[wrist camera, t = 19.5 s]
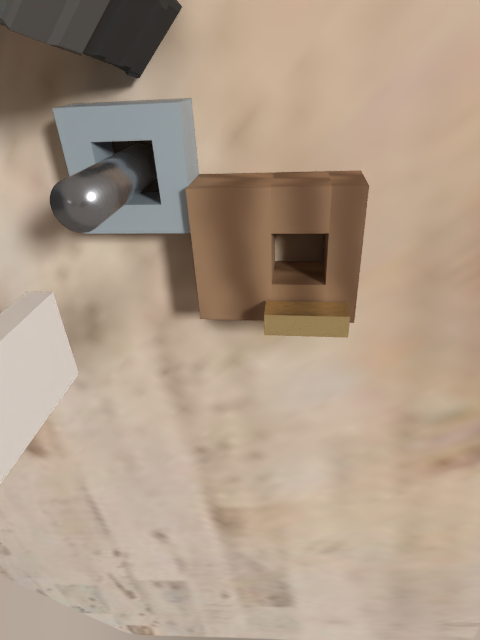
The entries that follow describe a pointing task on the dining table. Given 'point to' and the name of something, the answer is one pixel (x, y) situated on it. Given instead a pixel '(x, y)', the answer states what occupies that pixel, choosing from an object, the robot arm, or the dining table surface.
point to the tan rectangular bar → (306, 319)
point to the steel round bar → (102, 188)
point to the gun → (95, 27)
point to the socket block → (259, 239)
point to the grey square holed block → (134, 125)
